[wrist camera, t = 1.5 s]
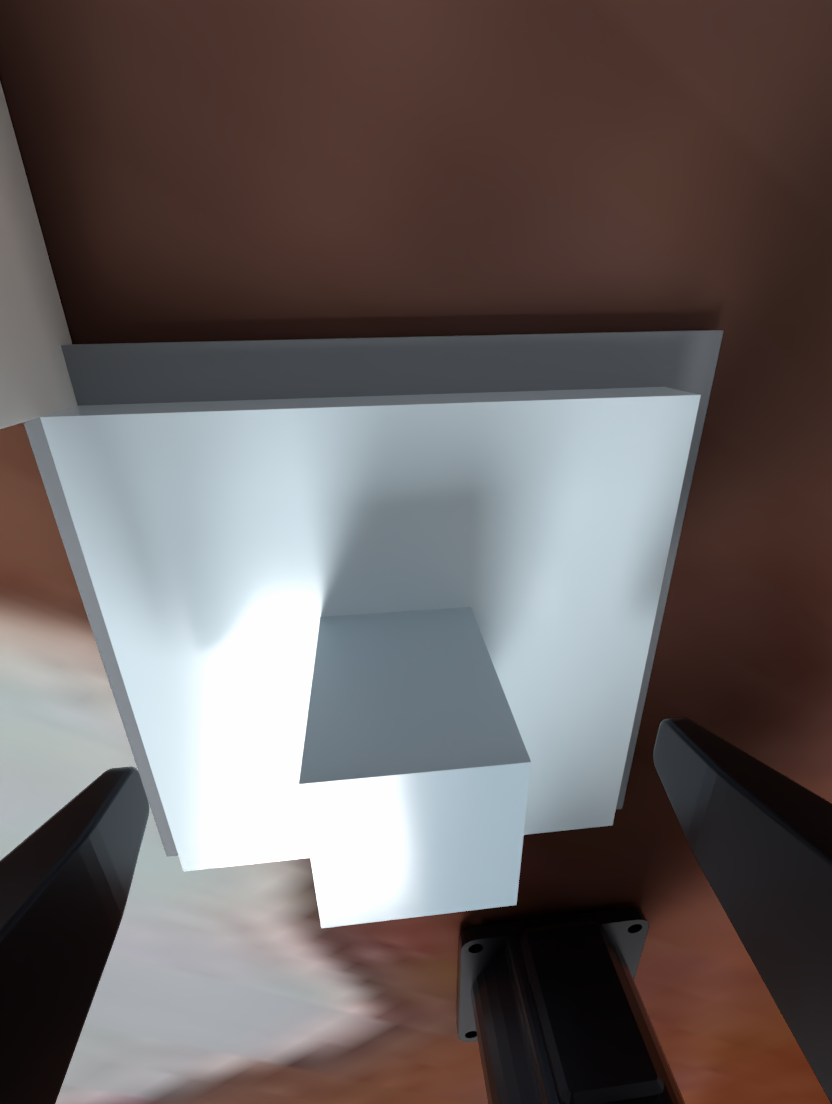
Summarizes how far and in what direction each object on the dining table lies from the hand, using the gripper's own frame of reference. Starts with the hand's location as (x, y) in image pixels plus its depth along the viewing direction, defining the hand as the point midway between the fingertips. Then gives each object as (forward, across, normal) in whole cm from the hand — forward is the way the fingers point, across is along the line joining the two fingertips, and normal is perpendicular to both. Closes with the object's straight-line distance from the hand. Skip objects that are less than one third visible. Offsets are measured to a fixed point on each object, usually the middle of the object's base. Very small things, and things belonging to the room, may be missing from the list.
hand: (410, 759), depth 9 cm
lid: (+4, 0, 0) cm, 4 cm away
